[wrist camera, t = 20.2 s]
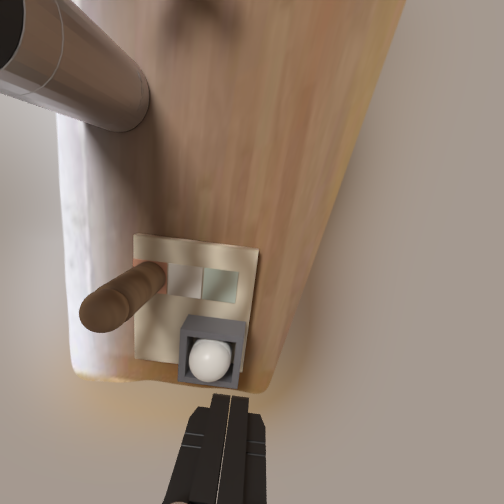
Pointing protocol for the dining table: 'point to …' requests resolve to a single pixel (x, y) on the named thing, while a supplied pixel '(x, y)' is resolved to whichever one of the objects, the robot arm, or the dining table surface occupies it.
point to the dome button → (210, 359)
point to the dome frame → (215, 331)
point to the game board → (191, 291)
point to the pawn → (121, 297)
